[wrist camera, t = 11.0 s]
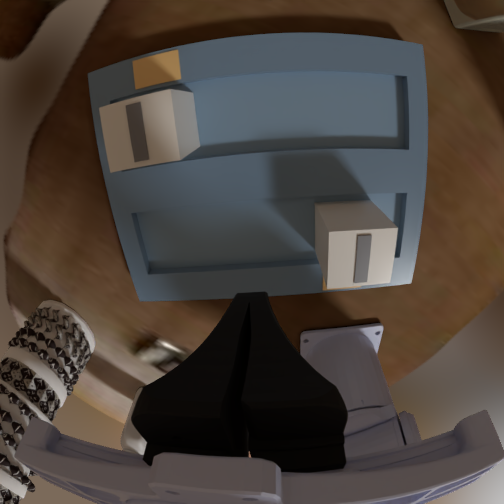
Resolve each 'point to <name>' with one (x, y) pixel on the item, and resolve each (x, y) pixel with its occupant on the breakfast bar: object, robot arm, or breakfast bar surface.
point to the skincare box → (477, 14)
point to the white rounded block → (132, 433)
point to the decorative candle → (37, 383)
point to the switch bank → (268, 159)
